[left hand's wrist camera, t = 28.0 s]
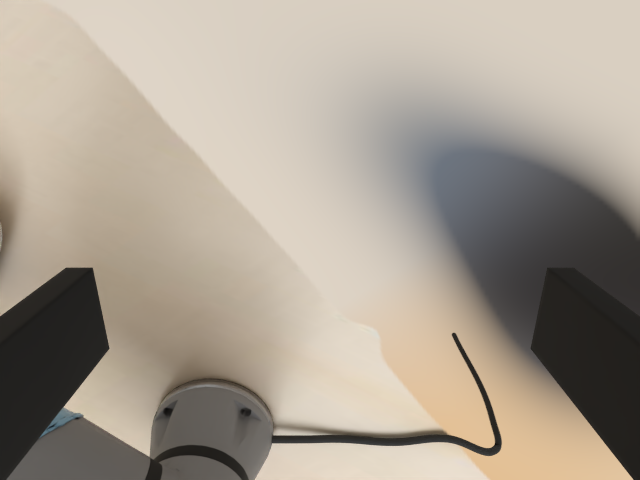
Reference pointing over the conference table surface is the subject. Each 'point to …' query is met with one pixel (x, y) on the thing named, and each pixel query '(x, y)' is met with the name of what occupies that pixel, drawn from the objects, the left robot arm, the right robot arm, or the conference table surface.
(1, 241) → the projector
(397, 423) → the conference table surface
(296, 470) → the conference table surface
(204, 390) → the left robot arm
